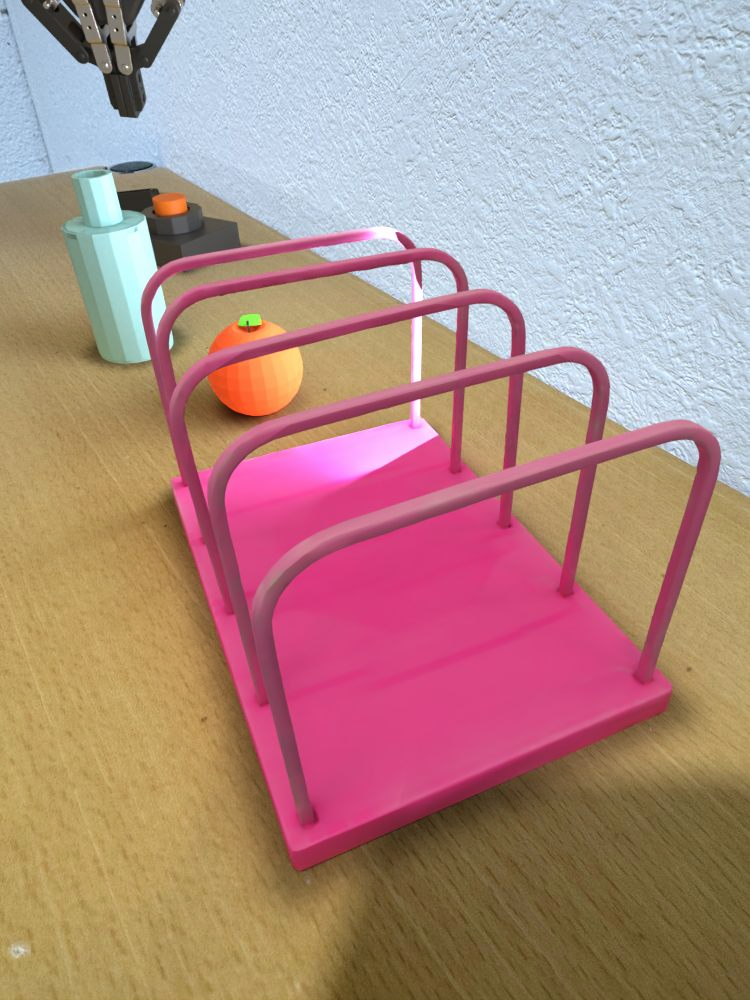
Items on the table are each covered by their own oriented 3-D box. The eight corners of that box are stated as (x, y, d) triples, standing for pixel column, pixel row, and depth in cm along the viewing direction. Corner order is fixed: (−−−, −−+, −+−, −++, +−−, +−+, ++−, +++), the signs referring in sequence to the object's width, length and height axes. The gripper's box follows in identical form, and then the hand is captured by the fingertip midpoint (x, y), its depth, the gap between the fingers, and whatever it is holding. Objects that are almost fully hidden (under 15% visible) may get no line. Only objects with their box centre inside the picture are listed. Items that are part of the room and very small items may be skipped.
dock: (118, 258, 81) (106, 214, 78) (174, 236, 86) (166, 194, 83) (186, 274, 76) (177, 227, 73) (241, 250, 82) (234, 205, 78)
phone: (157, 187, 101) (165, 215, 89) (159, 195, 101) (167, 224, 90) (101, 193, 99) (101, 222, 88) (103, 202, 100) (104, 231, 88)
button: (148, 215, 78) (145, 199, 77) (172, 207, 80) (169, 191, 79) (171, 220, 76) (168, 203, 75) (194, 211, 79) (191, 194, 78)
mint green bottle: (85, 356, 61) (29, 179, 52) (140, 329, 65) (96, 160, 56) (135, 373, 58) (84, 188, 49) (189, 343, 62) (151, 168, 53)
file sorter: (295, 879, 26) (225, 576, 16) (174, 501, 44) (107, 252, 34) (669, 713, 31) (788, 406, 21) (421, 435, 49) (423, 202, 39)
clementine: (220, 383, 56) (204, 298, 52) (306, 377, 56) (297, 292, 52) (211, 437, 50) (191, 346, 45) (307, 430, 50) (297, 338, 46)
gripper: (177, -154, 50) (213, 97, 64) (-8, -168, 50) (69, 87, 64) (153, -121, 46) (197, 141, 60) (-49, -136, 45) (43, 130, 60)
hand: (131, 113), depth 62 cm, fingers closed
